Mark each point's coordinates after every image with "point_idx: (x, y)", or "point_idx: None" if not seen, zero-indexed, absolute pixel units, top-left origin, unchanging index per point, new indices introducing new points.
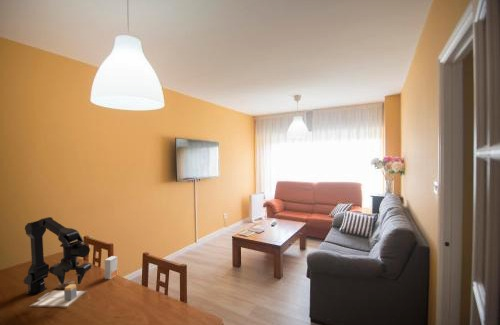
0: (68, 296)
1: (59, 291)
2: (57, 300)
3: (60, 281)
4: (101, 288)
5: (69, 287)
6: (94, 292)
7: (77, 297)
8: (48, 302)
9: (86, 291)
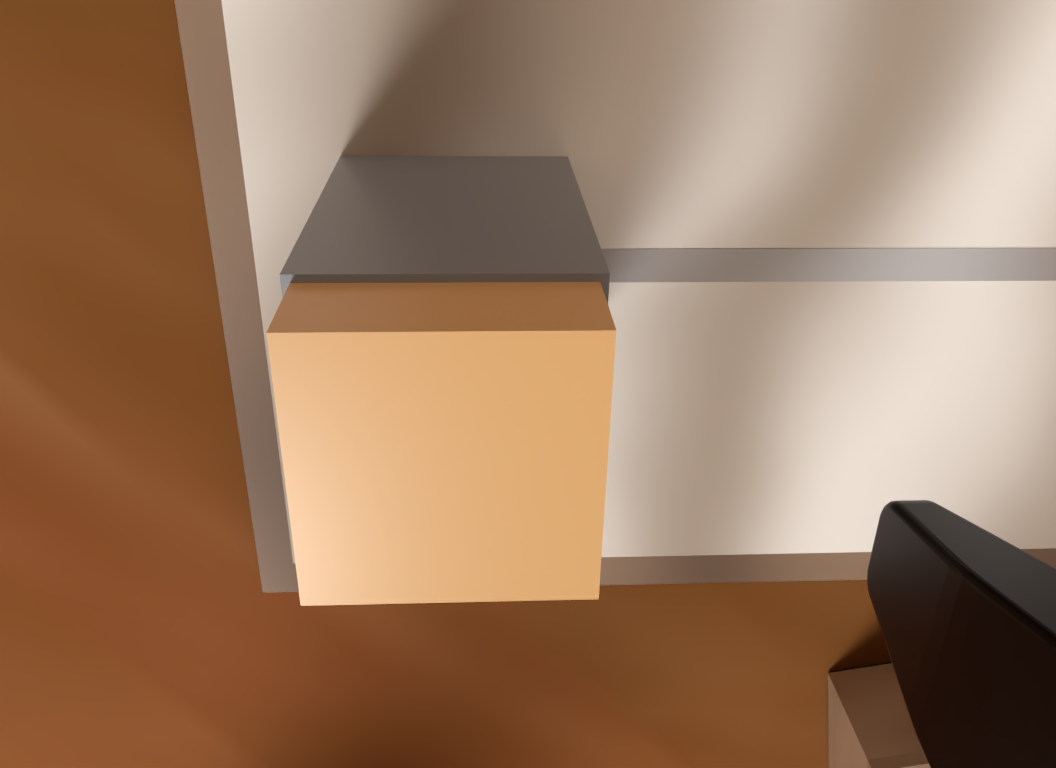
0: (421, 190)
1: (1016, 525)
2: (784, 132)
3: (1038, 584)
4: (26, 699)
5: (391, 375)
6: (44, 554)
7: (270, 303)
8: (1008, 18)
9: (272, 564)
